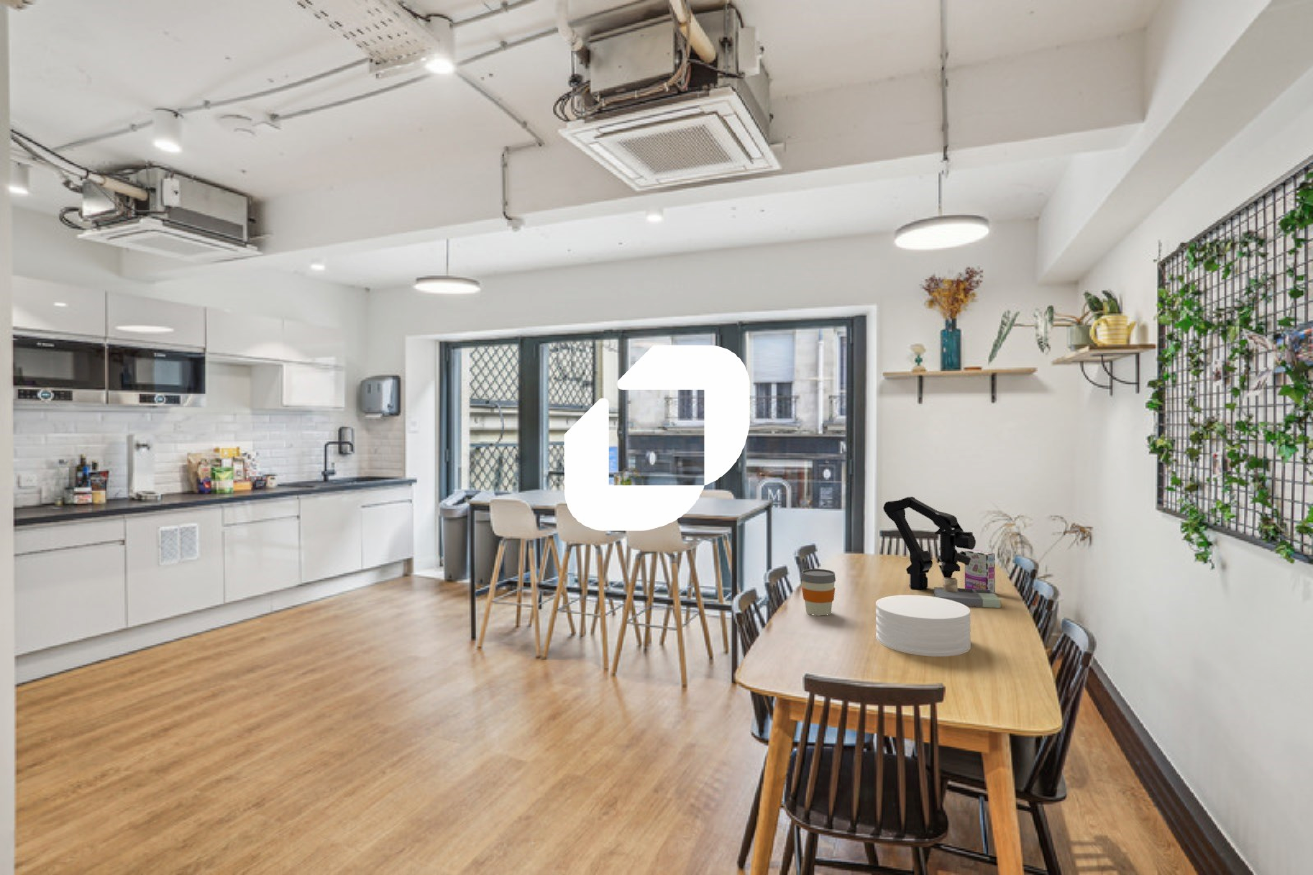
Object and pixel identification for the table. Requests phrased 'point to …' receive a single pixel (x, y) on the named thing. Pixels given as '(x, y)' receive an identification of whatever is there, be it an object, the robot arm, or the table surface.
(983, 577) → the candy bar box
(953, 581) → the maple block
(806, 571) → the reusable coffee cup
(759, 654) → the table surface
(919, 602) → the plate stack
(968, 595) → the trap deck
